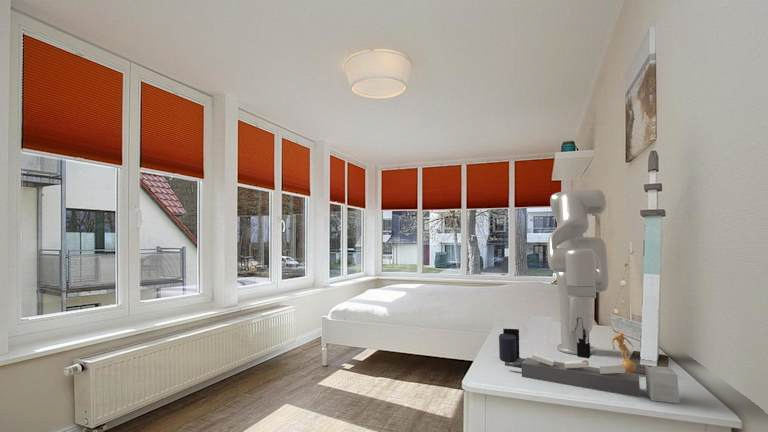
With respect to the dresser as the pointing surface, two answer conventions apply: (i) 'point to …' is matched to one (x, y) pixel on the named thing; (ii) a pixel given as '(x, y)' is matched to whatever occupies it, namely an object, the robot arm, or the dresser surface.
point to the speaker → (509, 345)
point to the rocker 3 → (612, 369)
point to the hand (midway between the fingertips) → (583, 356)
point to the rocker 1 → (543, 359)
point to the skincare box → (662, 384)
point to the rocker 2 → (576, 364)
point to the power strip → (580, 377)
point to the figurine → (627, 363)
